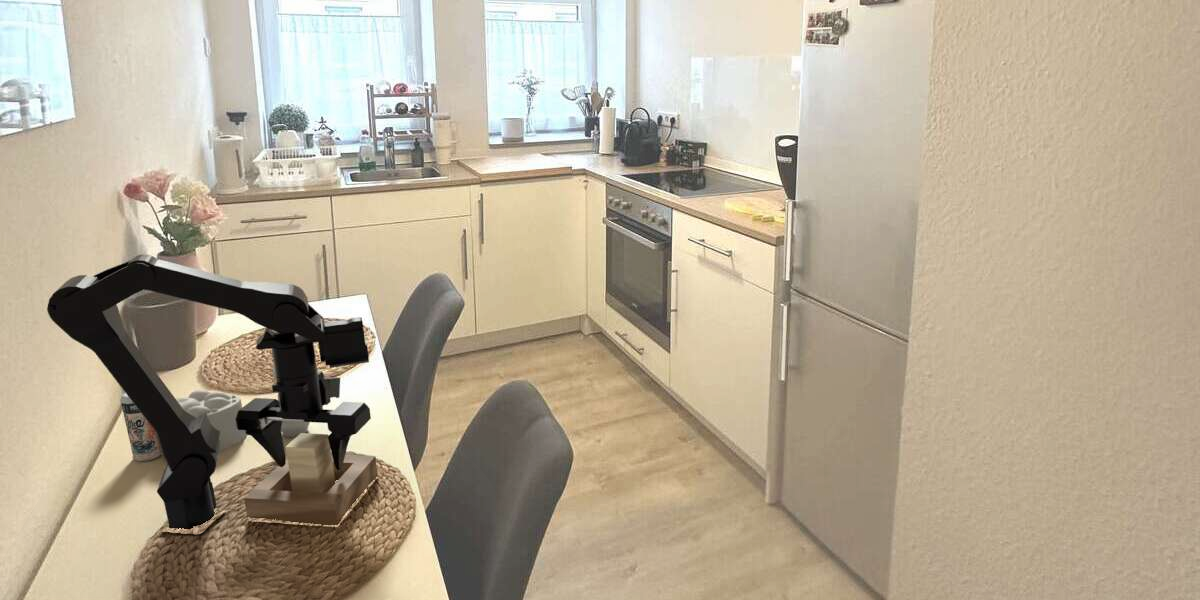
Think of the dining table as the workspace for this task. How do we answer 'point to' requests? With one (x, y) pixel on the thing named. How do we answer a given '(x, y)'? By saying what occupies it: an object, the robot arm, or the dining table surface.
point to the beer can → (140, 432)
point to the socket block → (311, 494)
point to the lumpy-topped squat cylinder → (217, 413)
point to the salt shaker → (292, 424)
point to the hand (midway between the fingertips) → (311, 467)
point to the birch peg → (310, 463)
